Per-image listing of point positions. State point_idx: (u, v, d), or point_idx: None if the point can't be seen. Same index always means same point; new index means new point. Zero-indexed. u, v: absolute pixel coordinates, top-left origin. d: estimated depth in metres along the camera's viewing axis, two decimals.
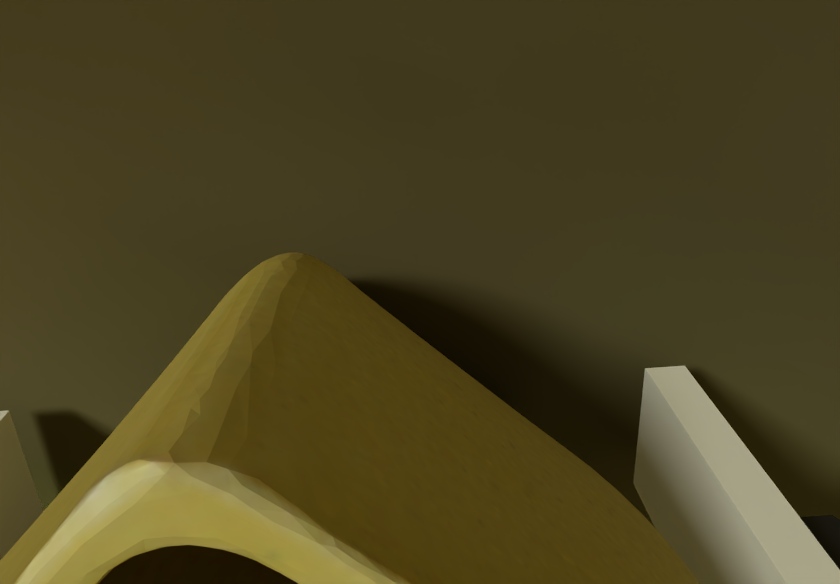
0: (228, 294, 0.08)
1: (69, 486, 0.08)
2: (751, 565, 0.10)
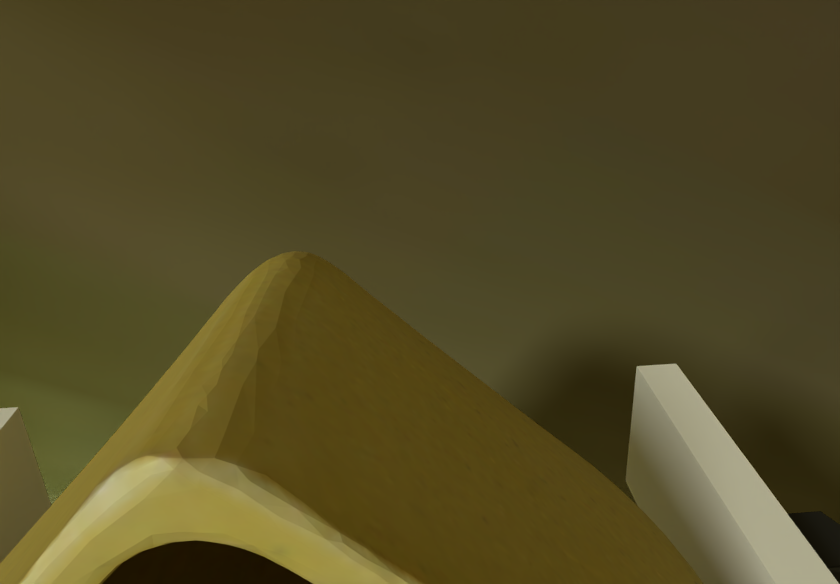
0: (233, 292, 0.08)
1: (74, 483, 0.08)
2: (739, 561, 0.10)
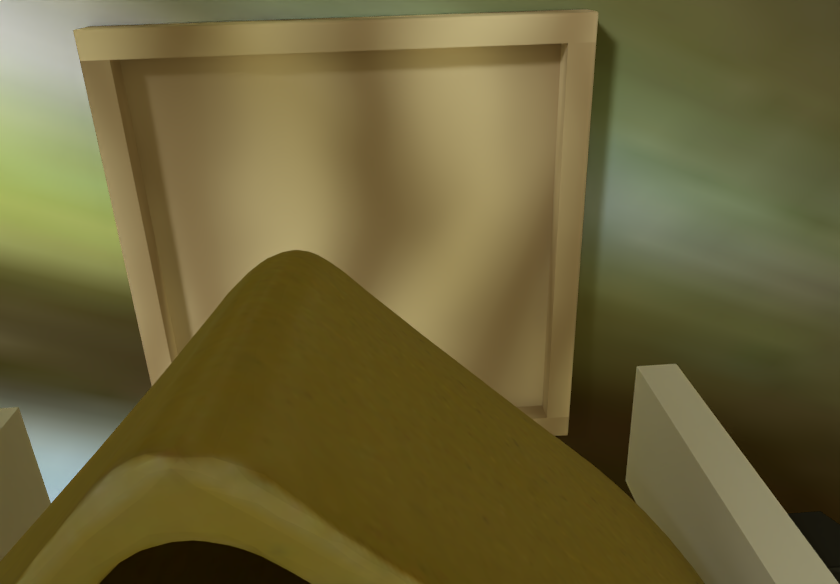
0: (231, 291, 0.08)
1: (72, 483, 0.08)
2: (738, 561, 0.10)
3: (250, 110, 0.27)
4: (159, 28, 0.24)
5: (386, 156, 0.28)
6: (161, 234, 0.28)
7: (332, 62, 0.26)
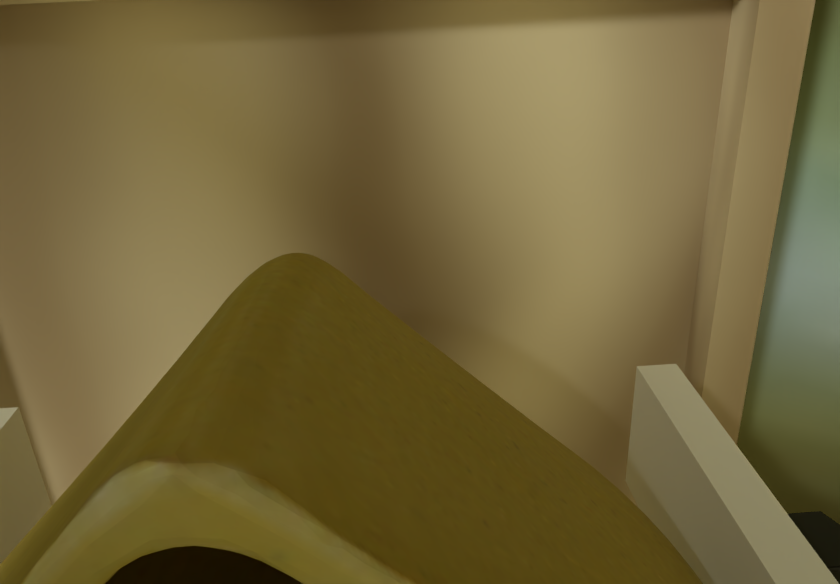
0: (232, 294, 0.08)
1: (73, 486, 0.08)
2: (738, 561, 0.10)
3: (125, 116, 0.14)
4: None
5: (391, 198, 0.15)
6: None
7: (281, 17, 0.13)
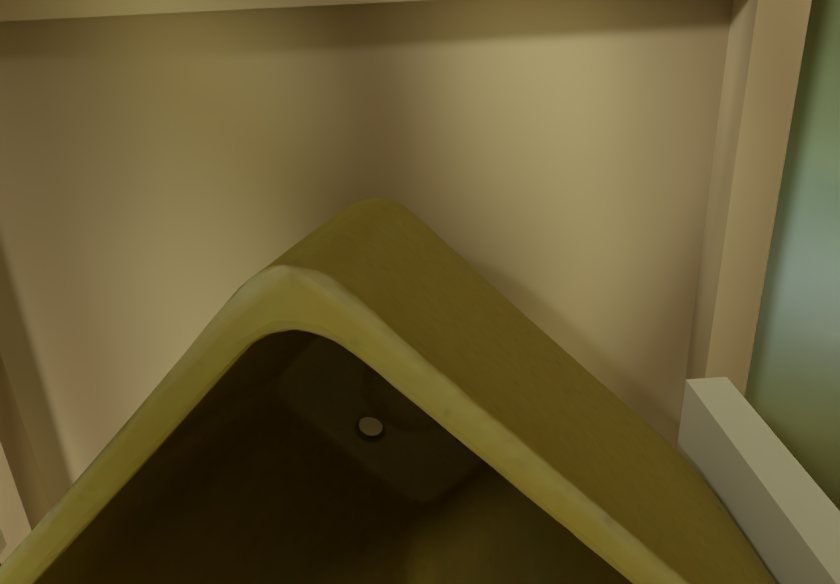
0: None
1: None
2: None
3: (151, 124, 0.14)
4: None
5: (403, 203, 0.15)
6: (10, 342, 0.16)
7: (300, 31, 0.14)
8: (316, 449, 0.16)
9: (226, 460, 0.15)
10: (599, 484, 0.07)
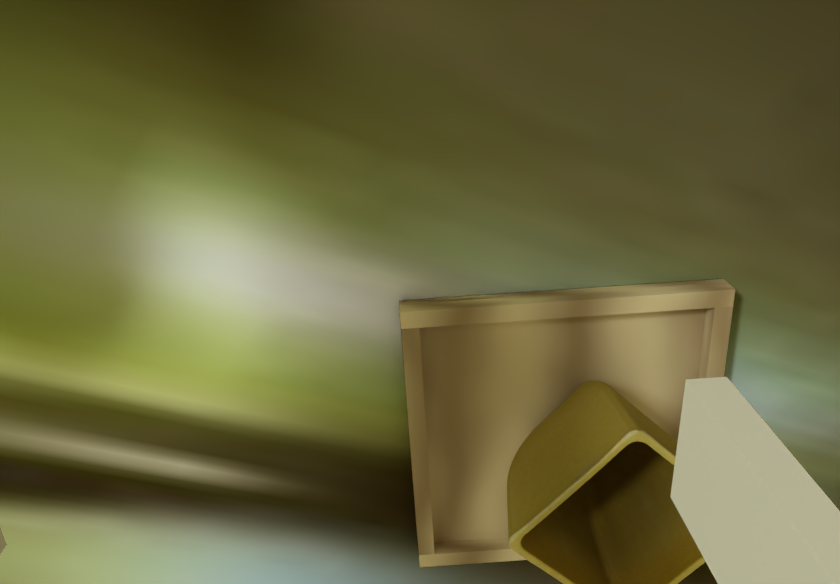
0: (603, 398, 0.36)
1: (572, 440, 0.36)
2: None
3: (499, 347, 0.40)
4: (453, 309, 0.38)
5: (585, 371, 0.41)
6: (430, 422, 0.42)
7: (555, 318, 0.40)
8: None
9: None
10: None
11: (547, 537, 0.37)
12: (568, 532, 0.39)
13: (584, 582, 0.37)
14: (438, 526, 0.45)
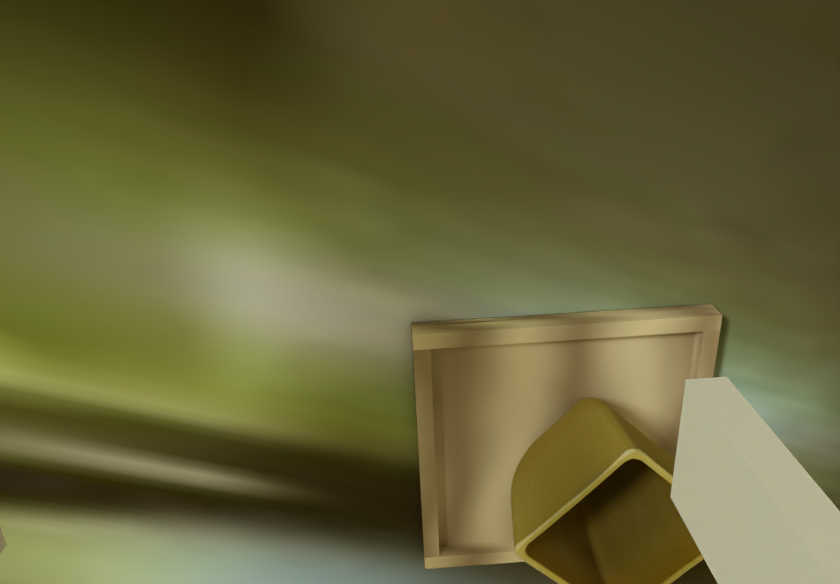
0: (601, 416, 0.39)
1: (573, 455, 0.39)
2: None
3: (503, 366, 0.43)
4: (462, 332, 0.41)
5: (583, 388, 0.44)
6: (438, 435, 0.45)
7: None
8: None
9: None
10: None
11: (548, 544, 0.40)
12: (566, 538, 0.42)
13: None
14: (443, 530, 0.48)
